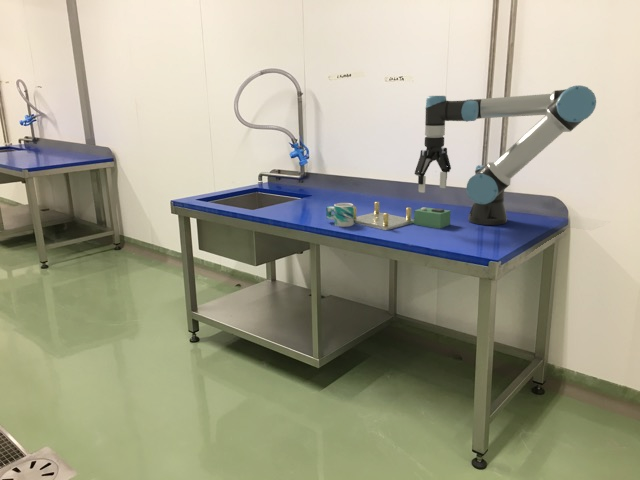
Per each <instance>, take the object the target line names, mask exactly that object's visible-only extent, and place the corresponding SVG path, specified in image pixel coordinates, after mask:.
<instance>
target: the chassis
mask: <svg viewBox="0 0 640 480" xmlns="http://www.w3.org/2000/svg"><path fill="white" fill-rule="evenodd" d="M405 210H406V211H405V216H406V217H404V216H398V215H394V214H389V213H388V212H384V213H383V212H380V201H374V212H370V213H366V214H361V215H358V216H357V206H353V224H357V225H362V226H366V227H369V228H374V229H377V230H383V231H389V230H392V229H393V230H394V229H397V228H400V227H405V226H407V225H410V224H414V218H412V207H406V209H405Z"/></svg>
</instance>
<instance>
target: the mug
mask: <svg viewBox="0 0 640 480" xmlns="http://www.w3.org/2000/svg"><path fill="white" fill-rule="evenodd" d="M333 205H334V206H326V208H325V211H326V220H331V221H332V220H333V221H334V226H336V227H342V228H344V227H345V228H346V227H351V226H354V223H353V207H354V204H353V203H350V202H339V203H338V202H337V203H334V204H333Z"/></svg>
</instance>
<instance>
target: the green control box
mask: <svg viewBox="0 0 640 480" xmlns="http://www.w3.org/2000/svg"><path fill="white" fill-rule="evenodd" d="M413 211H414V212H413V213H414V214H413V217H414V218H413V219H414V223H413V225H416V226H422V227H427V228H429V227H430V228H433V229H442V228H446V227H449V226H450V225H451V213H452V211H451V210H450V209H449V210H447V209H444V208H436V207H434V208H432V207H425V206H424V207H421V208H417V209H415V210H413Z"/></svg>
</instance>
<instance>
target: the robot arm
mask: <svg viewBox="0 0 640 480" xmlns="http://www.w3.org/2000/svg"><path fill="white" fill-rule="evenodd" d="M596 106H597V98H596V95H595V92H593V90H592V89H590V88H589V87H588V86H584V85H573V86H569V87H568V88H566V89H558V90H554V91H552V92H551V93H542V94H530V95H528V94H527V95H517V96H505V97H503V96H502V97H501V96H500V97H491V98H489V97H488V98H478V99H473V98H472V99H466V100H465V99H464V100H447V96H446V95H428V96H427V97H426V101H425V107H424V108H425V118H424V119H425V122H424V123H425V126H424V127H425V129H424V135H425V137H424V147H425V150H424V149H421V150H420V155H419V159H418V162H417V165H416V167H415V169H414V175H415V176H418V180H417V182H418V183H417V184H418V193H422V194H425V193H426V179H427V178H426V173H427V171H428V170H429V167H430V165H431V164H432V163H433V162H434V161H435V162H436V163H437V165H438V166H439V168H440V170H441V171H440V172H439V188H440V189H447V179H448V173H450V172H451V169H452V165H451V163H450V160H449V159H450V158H449V155H448V148H447V147H444V145H445V137H444V136H445V134H446V133H445V131H446V122H449V121H450V122H465V123H466V122H475V121H477V120H478V119H493V118H494V119H495V118H509V117H510V118H511V117H512V118H513V117H526V116H527V117H529V116H531V117H532V116H543V117H541V119H540V120H539V121H538V122H536V123H535V125H533V126H532V127H531V128H530V129H529V130H528V131H527V132H526V133H525V134H523V135H522V136H521V137H520V138H519V139H518V140H517V141H516V142H515V143H514V144H513V145H512V146H510V147H509V148H508V149H507V150H506V151H505V152H504V153H503V154H502V155H501V156H499V157H498V158H497V159H496V160H495V161H493V162H491V161H490V162H487V163H486V164H484V165H480V164H479V165H476V167H475V170H474V173H475V174H474V175H472V176H471V177H469V179H468V181H467V183H466V186H465V187H466V190H465V191H466V194H467V196H468V198H469V199H470V200H471V201H472V202H473V204H472V207H471V209H470V211H469V213H468V221H469V222H470V223H473V224H477V225H484V226H497V225H498V226H499V225H504V224H506V223H507V222H508V215H507V211H506V207H505V203H504V201H505V190H506V189H507V188H508V187H509V186H510V185H511V180H512V178H513V177H514V176H515V175H517V174H518V173H519V172H520V171H522V169H523V168H525V166H527V165H528V164H529V163H530V162H531V161H532V160H534V159H535V158H536V157H537V156H538V155H539V154H540V153H541V152H543V151H544V150H545V149H547V147H548V146H549V145H550V144H552V143H553V142H554V141H555V140H556V139H557V138H559V136H561V135H562V134H563V133H568V132H569V133H571V132H572V131H573V130H574V129H576V128H577V127H578V125H580V124H581V123H582V122H584V121H585V120H587V119H588V118H589V117H590V116H591V115H592V114H593V113H594V111H595V109H596Z"/></svg>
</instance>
